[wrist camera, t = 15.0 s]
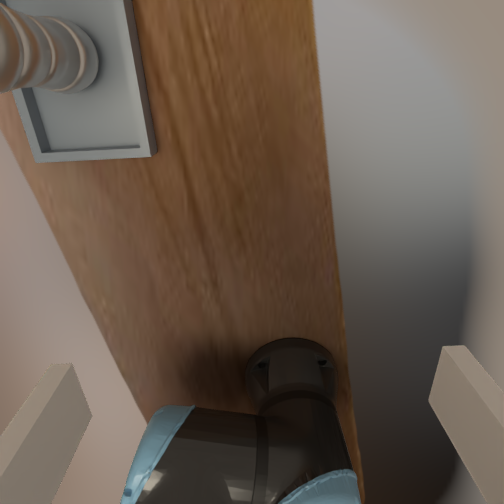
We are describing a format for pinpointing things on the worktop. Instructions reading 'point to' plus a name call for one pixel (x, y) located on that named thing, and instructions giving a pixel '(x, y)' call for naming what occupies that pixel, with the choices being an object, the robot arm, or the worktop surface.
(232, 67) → the worktop surface
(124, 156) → the tray
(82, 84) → the plastic bottle
